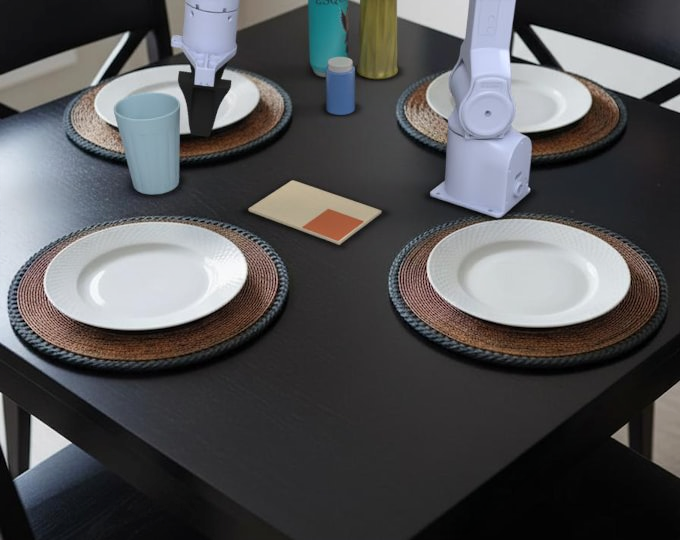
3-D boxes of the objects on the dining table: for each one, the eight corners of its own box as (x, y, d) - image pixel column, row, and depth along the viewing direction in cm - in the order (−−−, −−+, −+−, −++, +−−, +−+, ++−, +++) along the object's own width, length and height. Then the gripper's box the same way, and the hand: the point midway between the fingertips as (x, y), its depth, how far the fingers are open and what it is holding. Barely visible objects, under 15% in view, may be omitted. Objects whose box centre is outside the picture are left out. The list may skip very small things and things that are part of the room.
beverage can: (348, 79, 153) (347, -22, 145) (309, 79, 154) (306, -22, 145) (348, 64, 158) (348, -35, 150) (310, 64, 158) (308, -35, 150)
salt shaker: (360, 107, 145) (360, 59, 141) (344, 117, 143) (343, 69, 139) (337, 100, 147) (336, 53, 143) (320, 110, 145) (319, 62, 141)
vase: (357, 80, 153) (357, -16, 145) (356, 64, 158) (356, -30, 150) (399, 79, 153) (401, -17, 145) (396, 63, 158) (399, -30, 150)
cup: (110, 188, 127) (99, 109, 121) (153, 163, 132) (144, 86, 126) (157, 205, 123) (148, 125, 117) (200, 179, 128) (193, 101, 123)
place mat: (381, 213, 121) (381, 209, 121) (339, 245, 115) (339, 241, 115) (292, 182, 127) (292, 179, 127) (248, 211, 122) (248, 207, 121)
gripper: (179, -24, 116) (171, 88, 124) (168, 22, 104) (160, 144, 112) (242, -16, 117) (231, 95, 125) (239, 31, 105) (226, 151, 112)
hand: (202, 119), depth 118 cm, fingers open, 7 cm apart
